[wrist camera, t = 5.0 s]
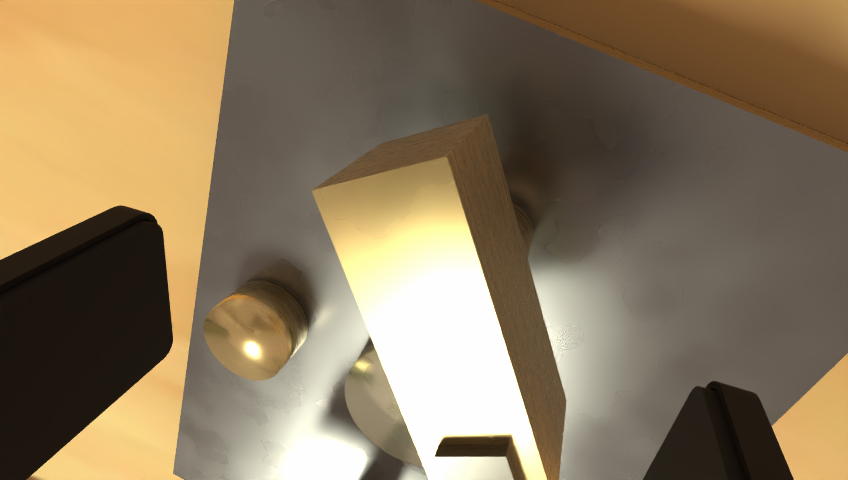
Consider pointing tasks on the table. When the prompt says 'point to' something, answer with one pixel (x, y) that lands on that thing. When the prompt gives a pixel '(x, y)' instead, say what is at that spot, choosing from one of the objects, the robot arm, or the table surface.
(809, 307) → the levelling plate
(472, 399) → the wooden bar knob
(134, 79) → the table surface
